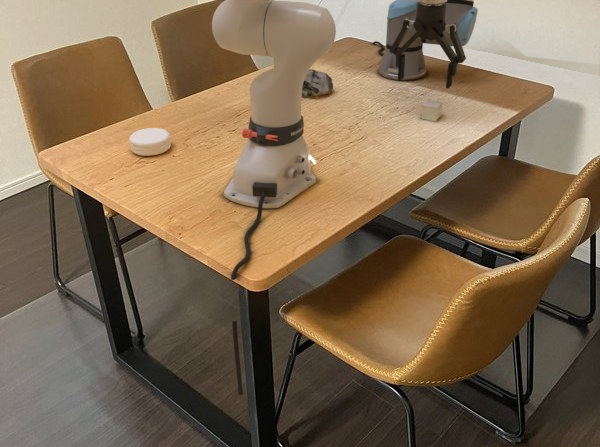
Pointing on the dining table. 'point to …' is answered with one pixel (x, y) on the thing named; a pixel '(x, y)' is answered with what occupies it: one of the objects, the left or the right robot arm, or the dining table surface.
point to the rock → (316, 83)
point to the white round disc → (150, 141)
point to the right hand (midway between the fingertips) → (424, 83)
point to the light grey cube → (432, 110)
